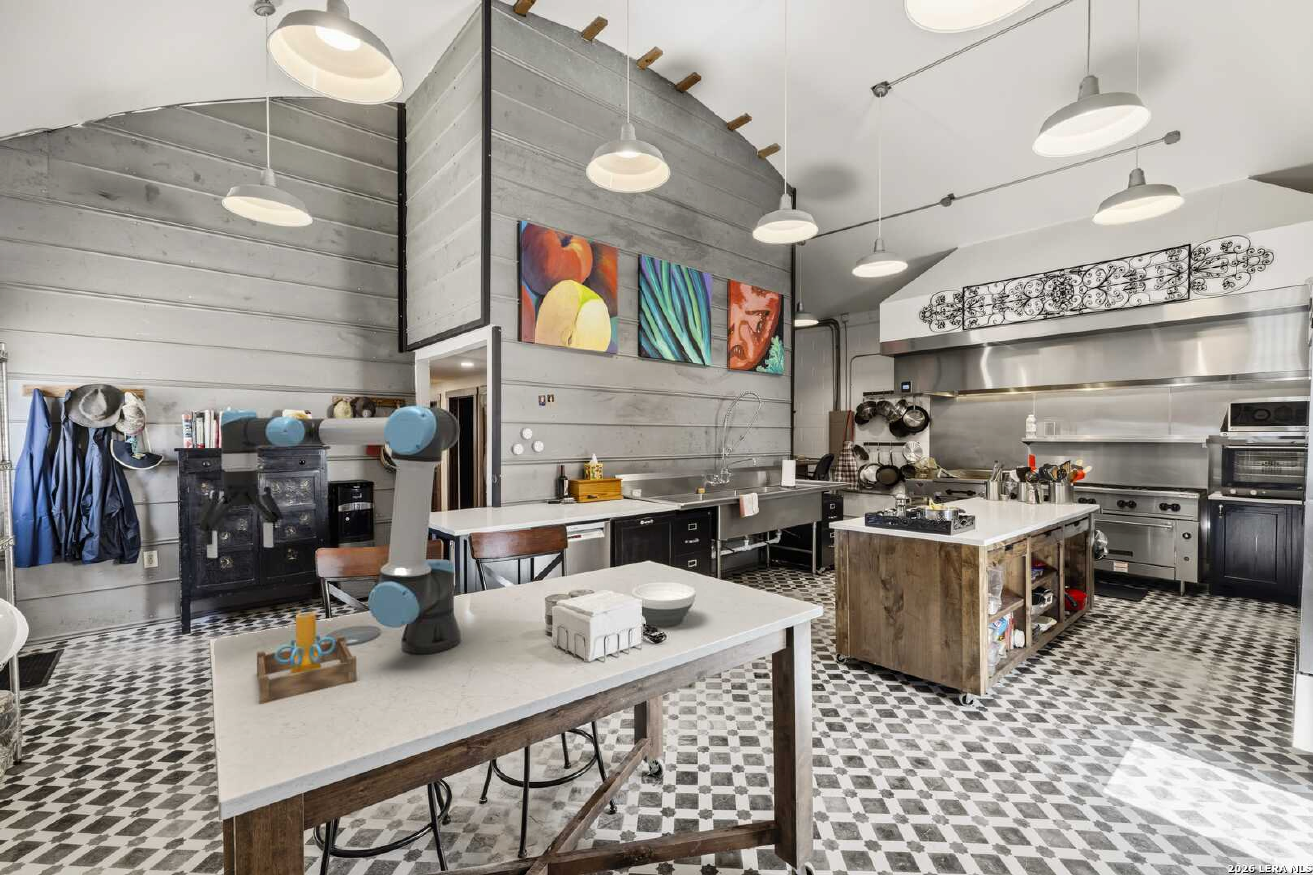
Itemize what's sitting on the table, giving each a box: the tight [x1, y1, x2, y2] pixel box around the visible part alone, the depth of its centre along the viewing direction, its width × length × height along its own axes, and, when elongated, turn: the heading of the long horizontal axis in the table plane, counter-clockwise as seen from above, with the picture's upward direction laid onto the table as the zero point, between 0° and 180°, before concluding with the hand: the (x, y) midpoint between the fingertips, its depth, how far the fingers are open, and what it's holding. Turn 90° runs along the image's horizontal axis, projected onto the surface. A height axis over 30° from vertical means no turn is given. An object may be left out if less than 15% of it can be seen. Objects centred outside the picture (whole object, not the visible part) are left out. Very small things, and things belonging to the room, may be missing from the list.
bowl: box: [631, 582, 697, 628], centre depth 172 cm, size 20×20×10 cm
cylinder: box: [274, 611, 336, 674], centre depth 132 cm, size 12×10×15 cm
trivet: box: [324, 625, 381, 647], centre depth 159 cm, size 14×14×1 cm
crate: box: [256, 635, 357, 705], centre depth 132 cm, size 18×18×5 cm
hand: (241, 552), depth 145 cm, fingers open, 13 cm apart
